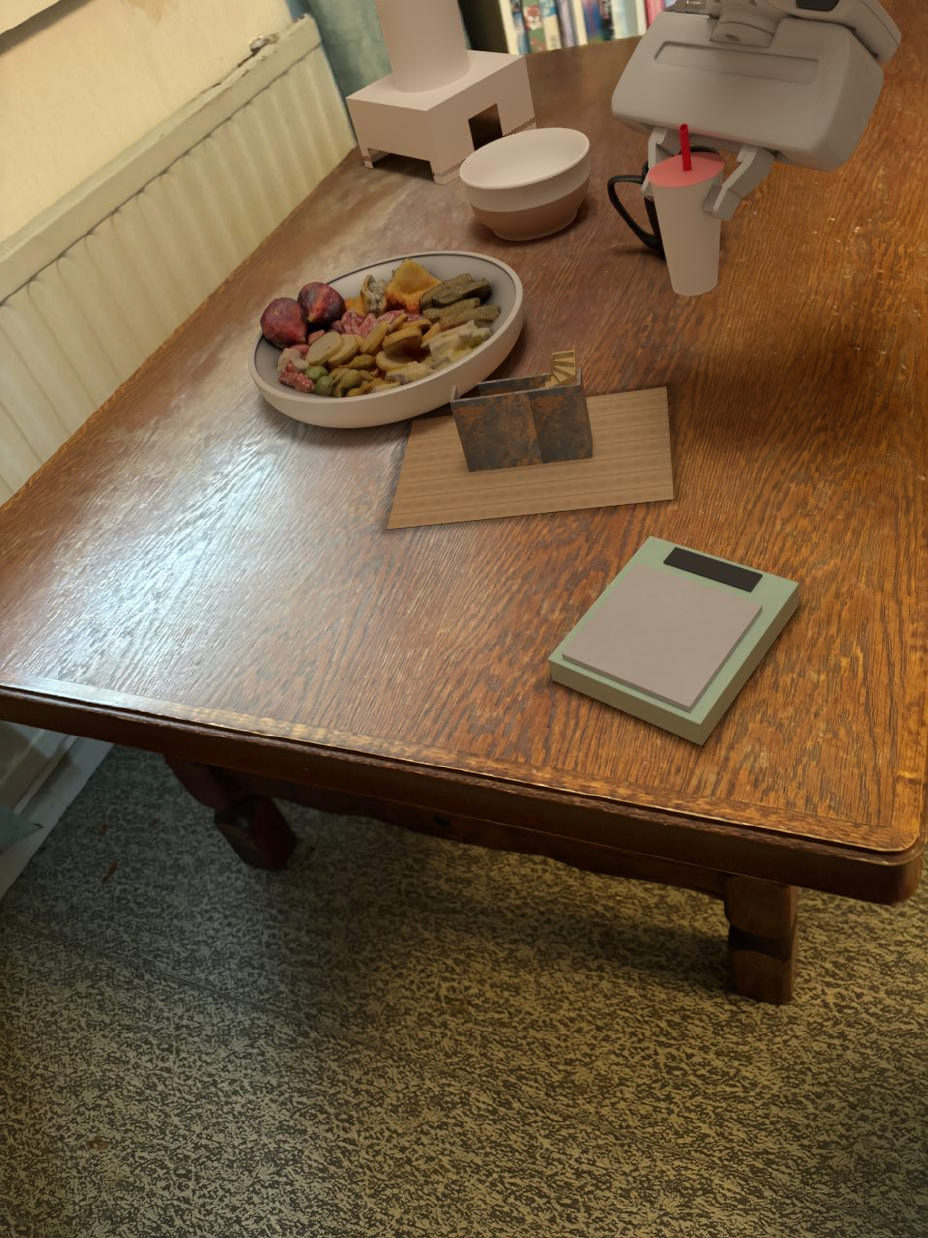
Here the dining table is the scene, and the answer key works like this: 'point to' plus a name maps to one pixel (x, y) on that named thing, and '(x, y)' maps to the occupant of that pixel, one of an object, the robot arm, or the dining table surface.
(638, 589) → the scale
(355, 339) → the bowl
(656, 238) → the mug
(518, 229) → the bowl
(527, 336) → the dining table surface
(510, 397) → the ruin model on sheet
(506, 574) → the dining table surface
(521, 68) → the paper towel holder
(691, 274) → the cup
